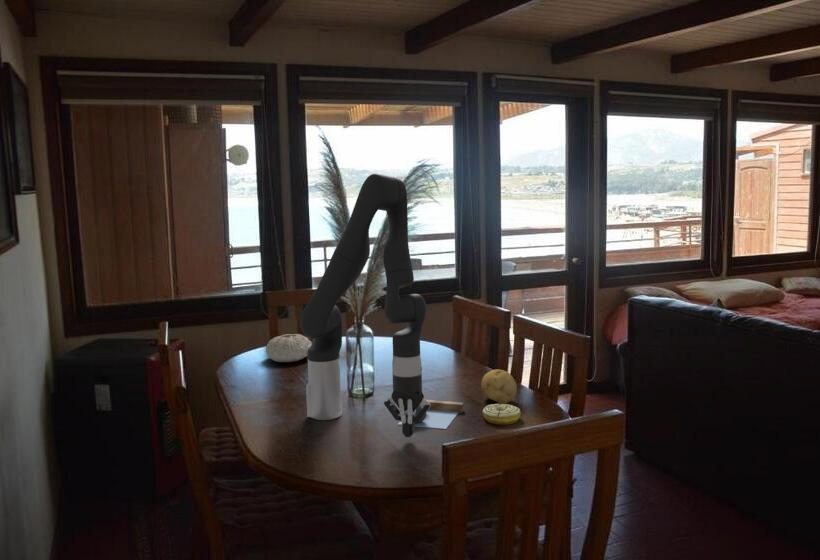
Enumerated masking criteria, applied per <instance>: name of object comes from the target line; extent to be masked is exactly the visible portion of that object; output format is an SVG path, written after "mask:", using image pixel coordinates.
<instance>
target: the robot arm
mask: <svg viewBox="0 0 820 560" xmlns="http://www.w3.org/2000/svg"><path fill="white" fill-rule="evenodd" d="M407 192H408V191H407V187H406V184H405V183H404V181H403V180H402V179H400V178H398V177H395V176H390V175H386V174H384V173H383V174H382V173H372V174H369V176H367V177H366V179H365V180H364V181H363V184H362V185H361V188H360V190H359V193H358V194H357V198H356V199H355V200H356V201H355V204H354V206H353V209H352V213H351V215H350V217H349V219H348V221H347V224H346V226H345V229H344V231H343V233H342V235H341V237H340V240H339V241H338V243H337V245H336V247H335V248H334V251H333V254H332V255H331V257H330V260H329V263H328V264H327V267H326V268H325V271H324V273H323V275H322V277H321V279H320V282H318V283H319V284H318V286H317V288H316V289H315V291H314V293H313V294H312V295H311V297H310V299H309V300H308V302H307V304H306V305H305V307H304V309H303V311H302V313H301V315H300V321H299V322H300V323H299V324H300V328H301V331H302V333H303V335H305V337H308V338H314V341H313V343H312V345H311V346H310V348H309V349H308V352H307V356H306V357H307V372H308V373H307V375H308V376H307V377H308V383H307V384H306V386H305V389H306V390H305V392H306V393H305V394H306V396H305V397H306V413H307V414H306V417H307V418H311V419H314V420H316V421H317V420H318V421H331V420H335V419H337V418H340V417H341V416H342V414H343V413H342V411H343V409H342V408H343V407H342V387H341V386H342V384H341V361H340V359H341V358H340V356H341V355H340V353H341V352H340V351H341V349H342V345H343V319H342V318H343V317H342V313H341V311H340V310H341V309H339V307H338V306H337V303H338V302H339V300H340V299H341V298H342V297H343V295H345V293H346V292H347V291H348V290H349V289H350V288H351V287H352V286H353V285H354V284H355V282H356V281H357V280H359V277H360V276H361V275H362V272H363V271H364V268H365V266H366V264H367V262H368V260H369V258H370V254H371V253H370V252H371V246H370V245H371V243H370V233H369V232H370V227H371V224H372V222H373V220H374V217H375V216H376V214H377V211H384V212H385V211H386V215H387V218H388V223H389V225H388V226H389V229H388V234H387V239H386V241H385V244H384V247H383V255H382V258H383V259H382V261H383V267H384V272H385V278H386V280H385V281H386V292H385V301H384V315H385V318H386V319H387V321H388V322H390V323H391V324H403V323H408V324H407V326H406V327H405V328H403V329H402V330H399V331H396V332H395V333H393V334H392V361H391V362H392V363H391V365H392V369H391V371H392V374H391V375H392V393H391V397H388V398H387V399H386V400H384V402H383V404H384V406H385V408H386V409H387V410H388V411H389V413H390V415H392V417H393V419H395V421H399V422H400V421H401V422H402V425H401V429H402V431H401V432H402V435H404V438H411V437H412V436H413V435H414V433H415V426H414V422H418V421H419V420H420V419H421V418H422V417H423V415H424V414H425V413H426V412H427V410H428V409H429V408H430V407H431V406H432V403H431V402H427V401H426V400H427V399H426V398H425V396H424V393H423V382H422V380H423V377H422V376H423V375H422V374H423V373H422V372H423V367H422V359H421V335H422V331H423V327H424V323H425V318H426V314H427V303H426V300H425V298H424V297H423V296H422V295H421V294H419V293H411V294H410V293H409V294H408V293H407V294H400V293H399V291H400V289H401V288H405V287H408V286H410V285H412V284H413V283H414V281H415V277H414V272H413V265H412V259H411V254H410V248H409V247H410V246H409V229H408V228H409V227H408V226H409V222H408V221H409V219H408V218H409V216H408V193H407ZM424 398H425V399H426V400H425V399H424ZM420 403H422V405H421V408H422V410H421V411H420V412H419V414H418V415H417V416H415V412H416V408H417V407H418V406H419V405H420Z"/></svg>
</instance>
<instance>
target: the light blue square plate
mask: <svg viewBox="0 0 820 560" xmlns="http://www.w3.org/2000/svg"><path fill="white" fill-rule="evenodd" d="M459 414H460V413H459V412H451V411H440V410H429V409H428V410H427V412H426V417H425V419H424V420H423V421H422V422H421V423H414V428H415V427H417V428H427V429H439V430H447V429H448V427H449V426H450V425H451V424H452V422H453V421H454V420H455V418H456V417H457V416H458V415H459ZM397 426H402V422H401V421H399V422H398V423H397Z"/></svg>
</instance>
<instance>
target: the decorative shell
mask: <svg viewBox="0 0 820 560" xmlns="http://www.w3.org/2000/svg"><path fill="white" fill-rule="evenodd" d="M312 344H313V343H312V341H310V339H309V337H308V336H306V335H305V336H304V334H301V333H294V334H293V333H292V334H290V333H287V334H286V333H285V334H282V335H279V336H275V337H272V338H271V339H270V340H269V341H268V343H267V345H266V348H265V354H266V355H267V357H269V358H270V359H271V361H274V362H277V363H293V362H297V361H298V362H299V361H301V360H302V359H304V358H306V357H307V352H308V349H309V348H310V346H311V345H312Z"/></svg>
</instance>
